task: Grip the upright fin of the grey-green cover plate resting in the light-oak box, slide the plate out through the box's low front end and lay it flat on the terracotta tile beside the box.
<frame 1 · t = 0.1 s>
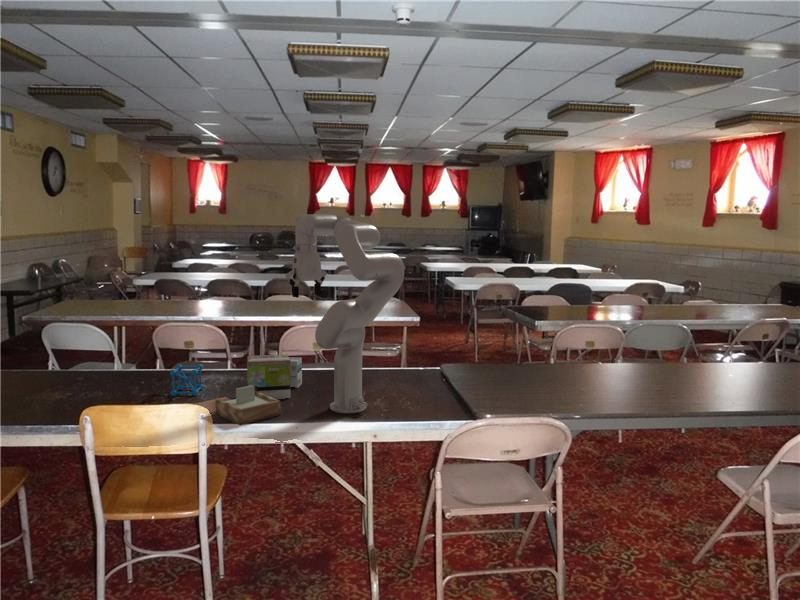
hand: (306, 295, 225), 37 cm above the table, tool pointing down, fingers open, 9 cm apart
cover plate: (247, 405, 205), point 3 cm above the table, touching oak box
tea box: (268, 397, 225), on the table
light bulb box: (286, 386, 240), on the table
molecular structure: (187, 393, 229), on the table
oak box: (248, 414, 205), on the table
terracotta tile: (218, 405, 214), on the table
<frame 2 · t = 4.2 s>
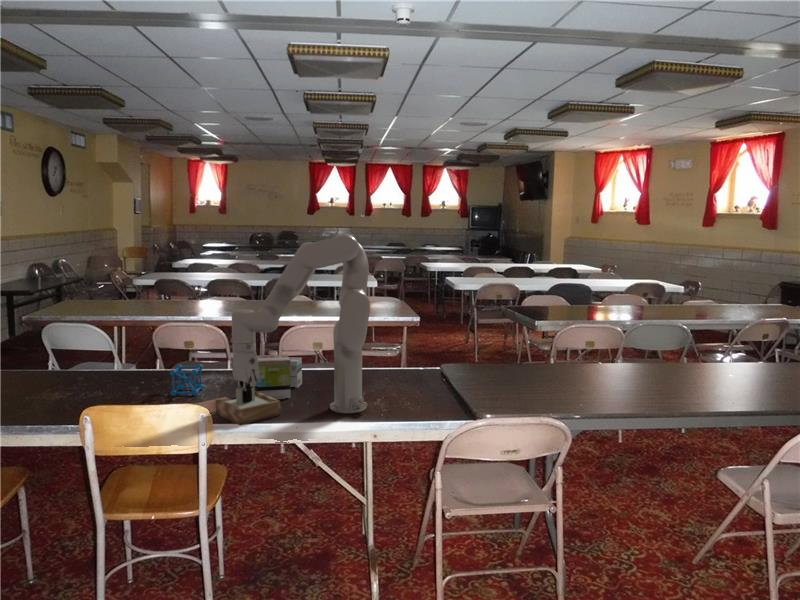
hand: (245, 400, 206), 4 cm above the table, tool pointing down, fingers closed on cover plate
cover plate: (248, 405, 205), point 3 cm above the table, touching gripper, oak box
everything else where it was.
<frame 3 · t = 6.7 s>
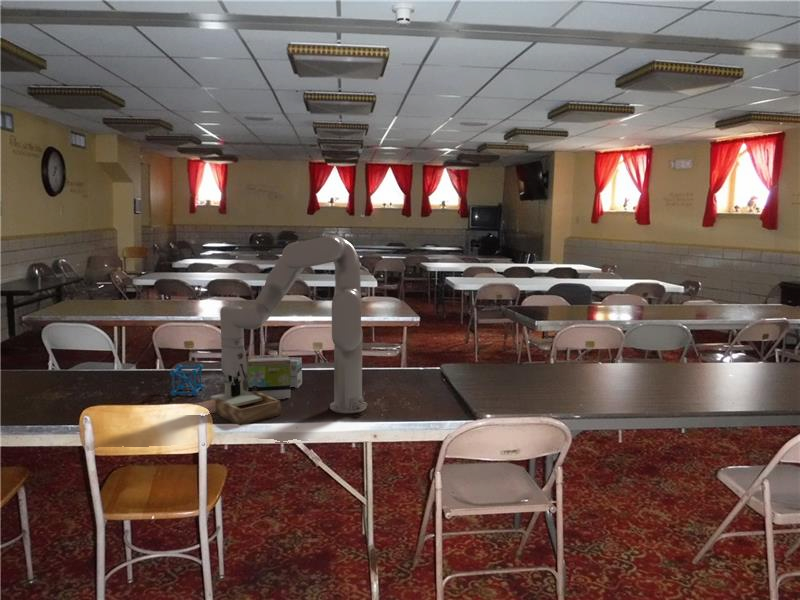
hand: (234, 394, 211), 5 cm above the table, tool pointing down, fingers closed on cover plate
cover plate: (236, 399, 210), point 3 cm above the table, touching gripper
everything else where it was.
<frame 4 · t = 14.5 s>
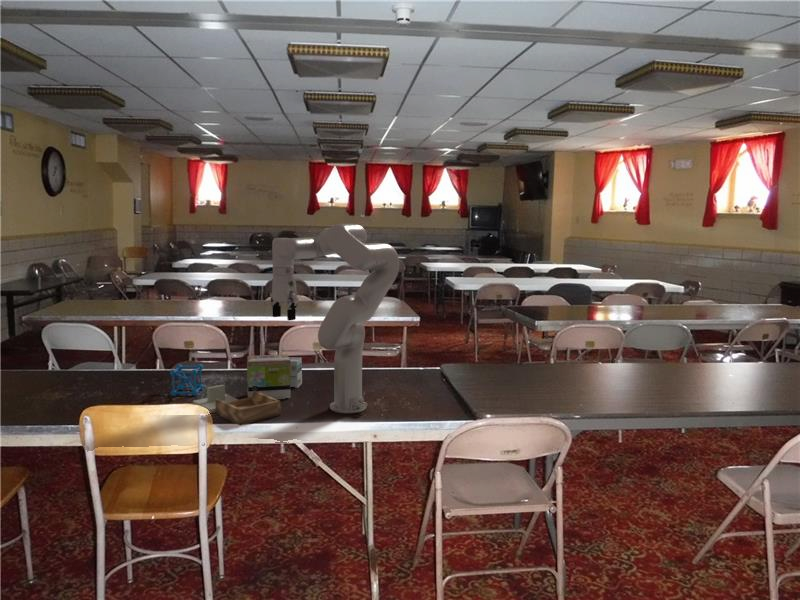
hand: (284, 318, 226), 28 cm above the table, tool pointing down, fingers open, 9 cm apart
cover plate: (218, 404, 214), point 1 cm above the table, touching terracotta tile
everything else where it was.
at the end: cover plate inside the target area on the terracotta tile (0.1 cm from its centre), point 0.6 cm above the terracotta tile's base; cover plate tilted 0°; the gripper is holding nothing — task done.
